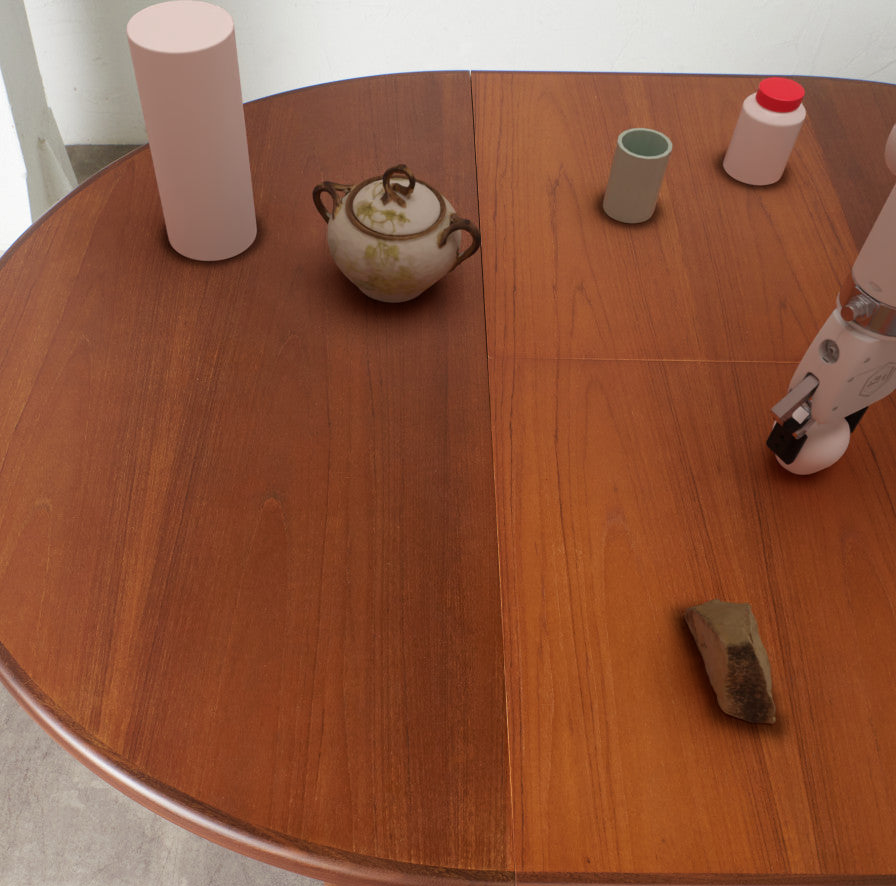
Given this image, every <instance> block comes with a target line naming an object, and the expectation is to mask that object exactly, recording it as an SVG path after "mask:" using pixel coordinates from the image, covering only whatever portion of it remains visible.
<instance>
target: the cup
mask: <svg viewBox="0 0 896 886" xmlns="http://www.w3.org/2000/svg"><path fill="white" fill-rule="evenodd" d="M672 152H673V143H672V141H671V139H670V138H669V136H667V135H665V134H664V133H663V132H660V131H658V130H656V129H652V128H645V127H634V128H630V129H626V130H624V131H623V132H621V133H620V134H619V135H618V136H617V141H616V146H615V149H614V154H613V158H612V163H611V166H610V170H609V176H608V180H607V184H606V187H605V192H604V196H603V200H602V209H603V211H604V213H605V214H606V215H607V216H608V217H610V218H611V219H613V220H615V221H618V222H620V223H624V224H639V223H643V222H646V221H648V220H649V219H651V218H652V216H653V215H654V212H655V210H656V206H657V203H658V199H659V196H660V193H661V189H662V185H663V182H664V179H665V176H666V171H667V169H668V164H669V161H670V158H671V154H672Z"/></svg>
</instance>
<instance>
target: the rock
mask: <svg viewBox="0 0 896 886" xmlns="http://www.w3.org/2000/svg"><path fill="white" fill-rule="evenodd" d="M683 616H684V619H685V622H686V624H687V626H688V629H689V631H690V633H691V634H692V637H693V638H694V641H695V644H696V646H697V649H698V652H699V653H700V655H701V657H702V660H703V663H704V668H705V672H706V674H707V676H708V679H709V682H710V685H711V686H712V688H713V691H714V693H715V694H716V701H717V704H718V706H719V708H720V709H721V711H722V712H724V714H727V715H729V716H731V717H734V718H737V719H739V720H743V721H746V722H749V723H753V724H771V725H773V724H775V722H776V721H777V719H776V717H775V716H776V712H777V708H776V705H775V702H774V700H773V694H772V690H773V681H772V679H773V678H772V674H771V673H772V669H771V668H772V667H771V663H770V659H769V656H768V652H767V650H766V647H765V646H764V643H763V642H762V638H761V636H760V632H759V627H758V621H757V619H756V617H755V615H754V613H753V611H752V606H751V604H750V603H749V602H743V603H741V602H740V603H737V602H732V601H729V602H727V601H721V599H719V598H714V599H710V600H708V601H706V602H704V603H701V604H698V605H694V606H691V607H686V608H685V610H684V614H683Z"/></svg>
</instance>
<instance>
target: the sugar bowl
mask: <svg viewBox="0 0 896 886" xmlns="http://www.w3.org/2000/svg"><path fill="white" fill-rule="evenodd" d="M323 192H326V193H328V194H329V195H330V196H331V199H332V201H333V202H332V203H333V206H332V212H331V213H330V211H328V209H327V208H326V206H325V204H324V202H323V200H322V199H321V195H322V193H323ZM338 192H341V193H343V194H344V195H343V196H342V197H340V195H339V193H338ZM311 195H312V200H313V204H314V207H315V208H316V210H317V213H319V215H320V216H321V218H322V219H323V220H324V221H325V223H326V224H327V229H326V232H327V233H326V238H327V239H326V240H327V244H328V248H329V249H328V250H329V253H330V255H331V257H332V260H333V261H334V263H335V264H336V266H337V268H338V269H339V270H340V272H341V273H342V274H343V275H344V276H345V278H347V279H348V280H349V281H350V282H351V283H352V284H354V285H355V286H356V287H357V288H358V289H359V291H361V292H362V294H364V295H366V296H367V297H369V298H371V299H373V300H376V301H379V302H382V303H392V304H393V303H395V304H396V303H404V302H407V301H411V300H413V299H416V298H417V297H419V296H420V295H421V294H422V293H423V292H425V291H426V290H427V289H429V288H431V287H432V286H433V285H435V284H436V283H437V282H438V281H440V280H441V279H442V278H443V277H444V276H445V275H448V274H450V273H452V272H454V270H455V269H456V268H457V267H458V266H460V265H461V264H462V263H463V262H464V261H466V260H467V259H469V258H472V256H474V255H475V254H476V253H477V252H478V251H479V249H480V247H481V244H482V236H481V232H480V231H479V228H478V227H477V225H476V224H475V223H474V221H472V219H468V218H465V217H464V218H463V217H460V216H459V214H458V213H457V211H456V209H455V208H454V207H453V205H452V204H451V203H450V201H449V200H448V199H447V198H446V196H444V195H443V194H442V193H440V192H439V190H437V189H436V188H435V187H434V186H432V185H431V184H429V183H428V182H426V181H423V180H421V179H419V178H416V177H415V174H414V173H413V171H412V170H411V169H410V168H409V166H408V165H407V164H405V163H398V164H396V165H393V166H391V167H389V168H387V169H386V170H385V171H384V173H383V174H382V175H375V176H373V177H370V178H367V179H365V180H363V181H361V182H359V184H354V183H353V184H342V183H338V182H333V181H329V180H323V181H321V182H319V183H318V184H316V185H315V187H313V190H312V194H311ZM462 231H465V232H467V233H469V234H470V236H471V238H472V242H471V244H470V246H468V248H466V249H465V250H463V251H462V252H460V249H461V245H462V244H461V243H462Z"/></svg>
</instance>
